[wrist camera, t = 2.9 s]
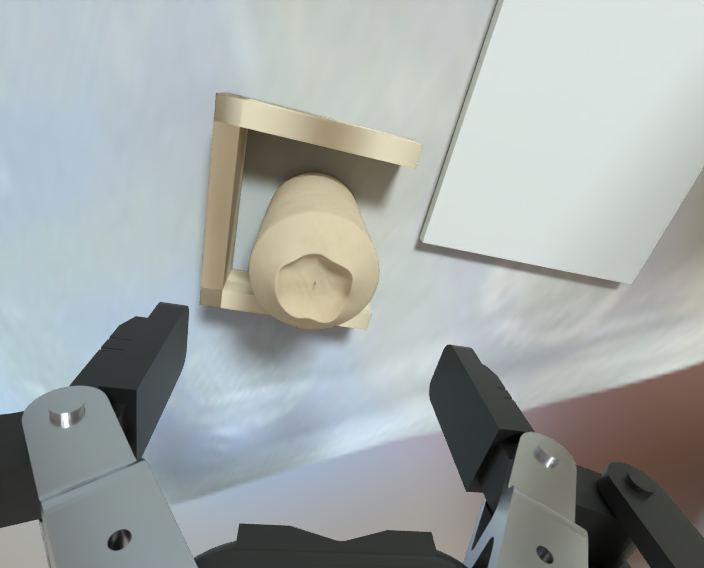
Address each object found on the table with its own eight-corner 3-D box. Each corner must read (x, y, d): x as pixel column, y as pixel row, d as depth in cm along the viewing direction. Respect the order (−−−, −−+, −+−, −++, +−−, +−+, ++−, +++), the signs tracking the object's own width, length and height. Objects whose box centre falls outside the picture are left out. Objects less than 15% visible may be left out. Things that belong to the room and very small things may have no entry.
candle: (342, 158, 22) (362, 202, 13) (368, 241, 25) (400, 325, 16) (254, 188, 23) (217, 251, 14) (288, 268, 25) (276, 365, 16)
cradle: (211, 282, 25) (199, 304, 22) (228, 92, 20) (216, 93, 18) (361, 306, 27) (366, 330, 24) (409, 138, 22) (422, 145, 20)
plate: (521, -72, 18) (530, -78, 18) (775, 26, 21) (790, 24, 21) (419, 238, 25) (422, 242, 24) (623, 279, 28) (631, 284, 27)
